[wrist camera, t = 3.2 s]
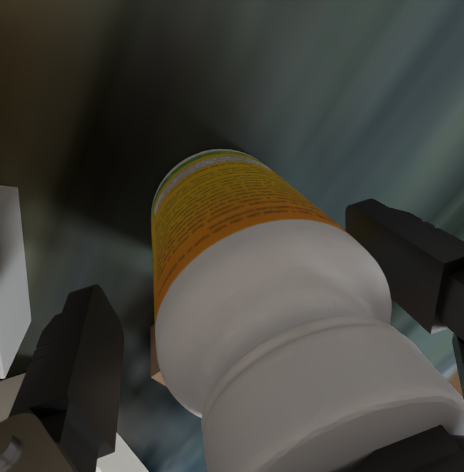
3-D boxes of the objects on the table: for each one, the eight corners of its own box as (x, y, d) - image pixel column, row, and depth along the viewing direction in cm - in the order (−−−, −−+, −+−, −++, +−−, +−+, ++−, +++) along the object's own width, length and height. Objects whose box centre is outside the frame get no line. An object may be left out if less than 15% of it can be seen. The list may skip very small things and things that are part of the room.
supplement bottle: (119, 208, 12) (52, 563, 3) (230, 114, 11) (492, 262, 3) (207, 286, 14) (291, 584, 6) (300, 215, 14) (534, 441, 5)
